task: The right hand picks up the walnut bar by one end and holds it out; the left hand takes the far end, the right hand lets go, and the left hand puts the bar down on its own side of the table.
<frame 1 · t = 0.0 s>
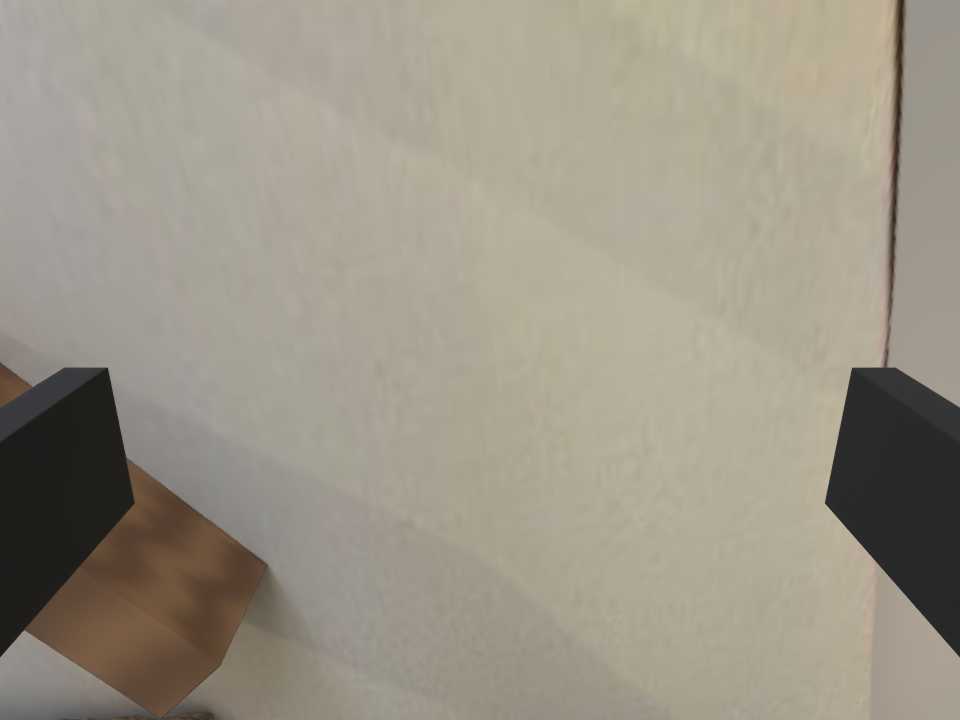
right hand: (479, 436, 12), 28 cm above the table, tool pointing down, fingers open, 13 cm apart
bar: (71, 462, 44), on the table
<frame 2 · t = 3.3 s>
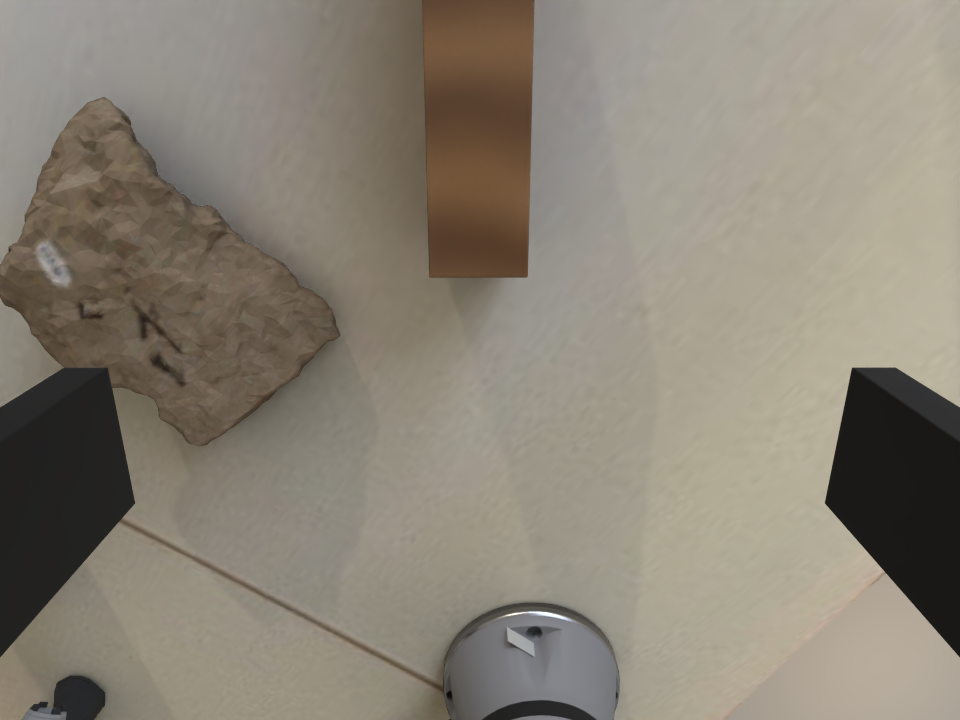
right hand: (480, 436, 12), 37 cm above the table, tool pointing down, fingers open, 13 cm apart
bar: (478, 28, 43), on the table
robot: (77, 708, 62), on the table
stone: (184, 281, 49), on the table
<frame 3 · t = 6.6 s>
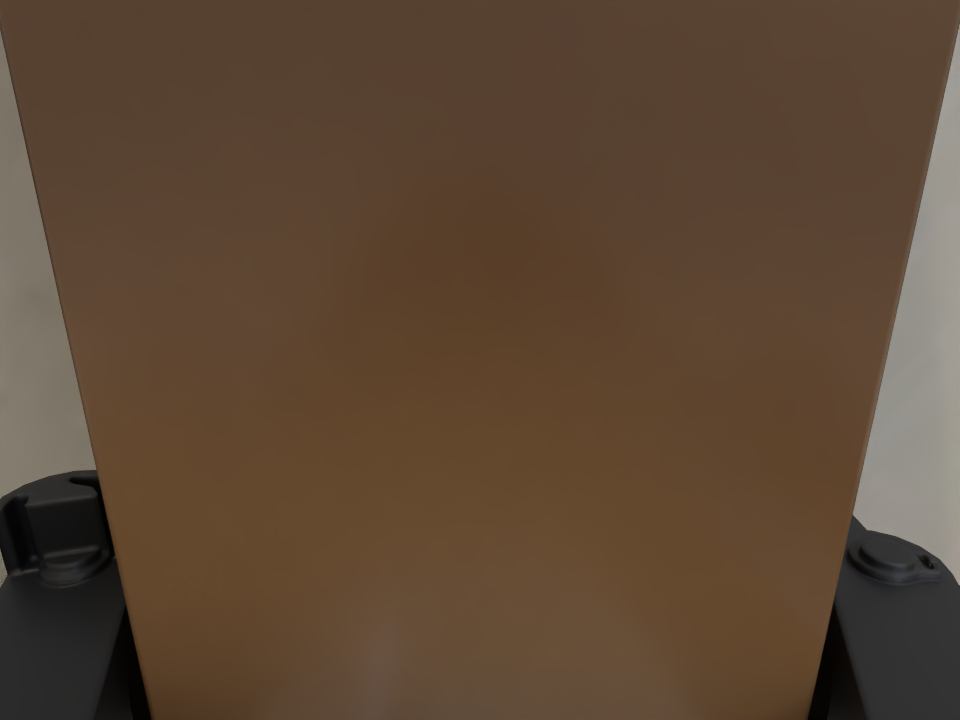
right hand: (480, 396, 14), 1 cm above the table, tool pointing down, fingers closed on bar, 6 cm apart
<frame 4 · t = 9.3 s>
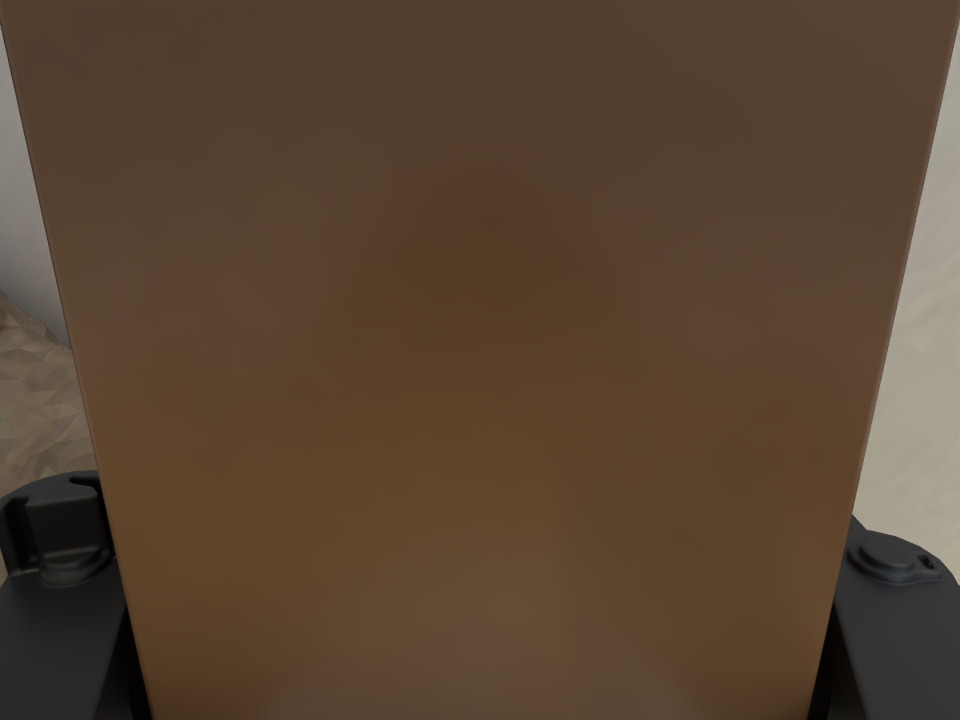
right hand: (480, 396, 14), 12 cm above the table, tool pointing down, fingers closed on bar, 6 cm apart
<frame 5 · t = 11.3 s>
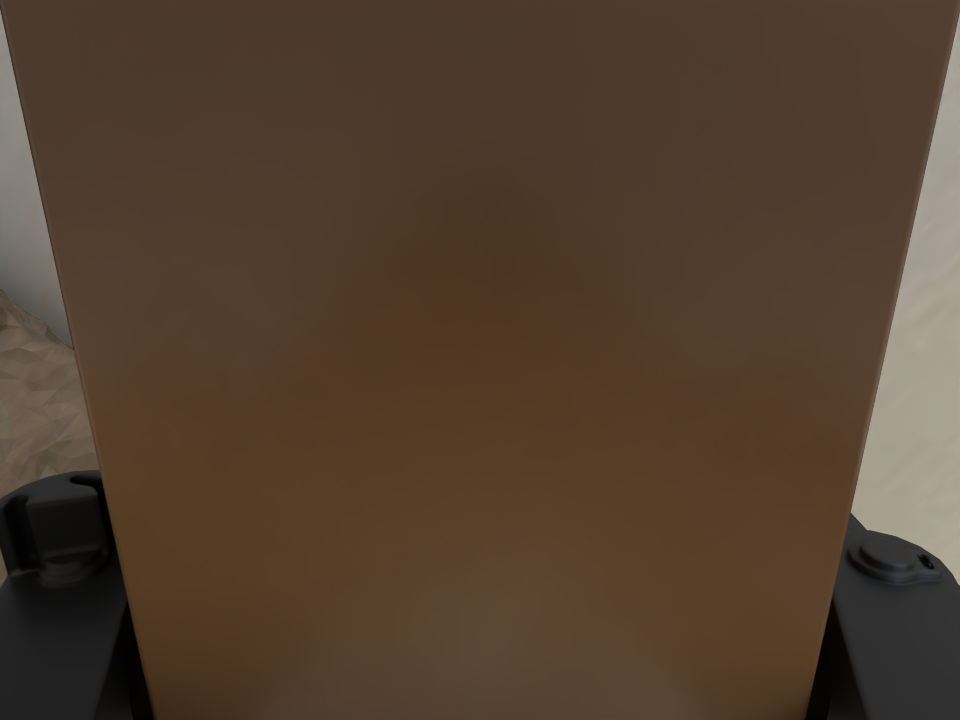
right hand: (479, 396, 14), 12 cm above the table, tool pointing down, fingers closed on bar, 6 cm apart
when the right hand's fingers open (12 cm above the table, at t = 12.2 s): bar stays where it is, held by the left hand.
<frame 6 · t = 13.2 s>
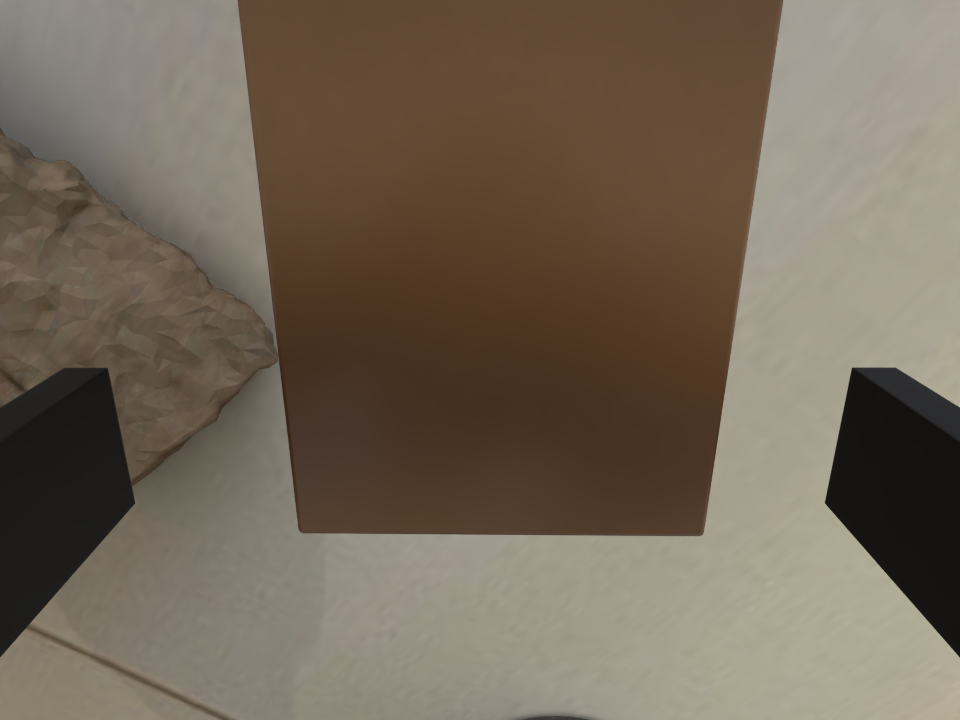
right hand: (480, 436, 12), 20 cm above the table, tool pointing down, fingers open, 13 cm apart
stone: (45, 277, 32), on the table
when the left hand's fingers open (6 cm above the table, at t = 16.5 s): bar drops 1 cm, on the table.
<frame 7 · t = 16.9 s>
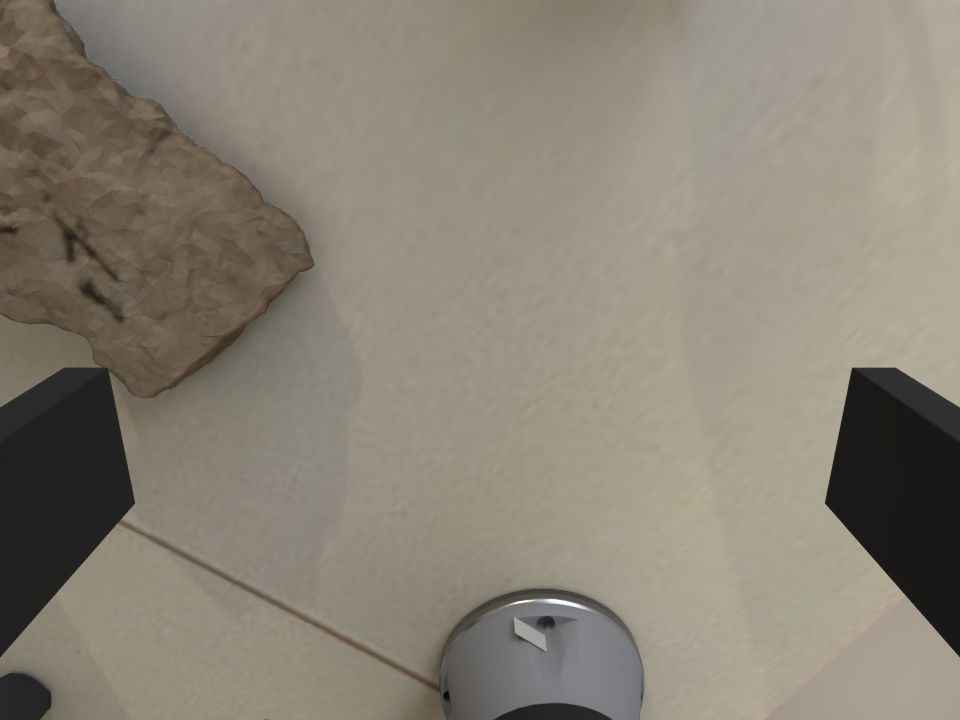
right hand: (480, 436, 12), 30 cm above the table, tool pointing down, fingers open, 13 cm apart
robot: (19, 710, 54), on the table
stone: (127, 200, 40), on the table
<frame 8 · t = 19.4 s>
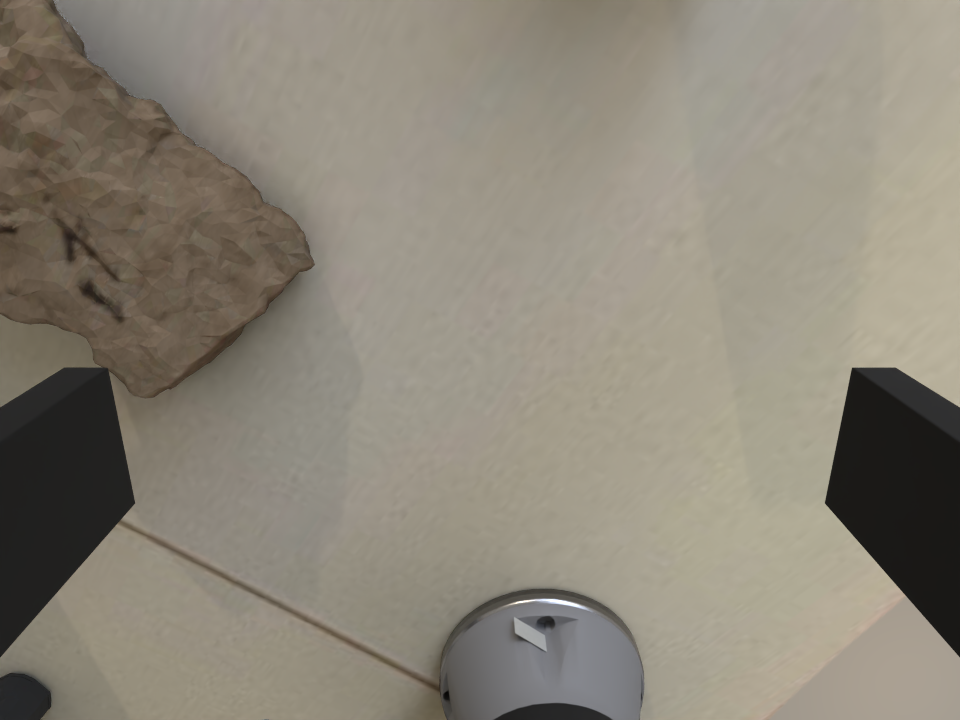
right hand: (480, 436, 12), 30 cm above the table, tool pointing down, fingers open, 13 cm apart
robot: (19, 710, 54), on the table
stone: (127, 200, 40), on the table
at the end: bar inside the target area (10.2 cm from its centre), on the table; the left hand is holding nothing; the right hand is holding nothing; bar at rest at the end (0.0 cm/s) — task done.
